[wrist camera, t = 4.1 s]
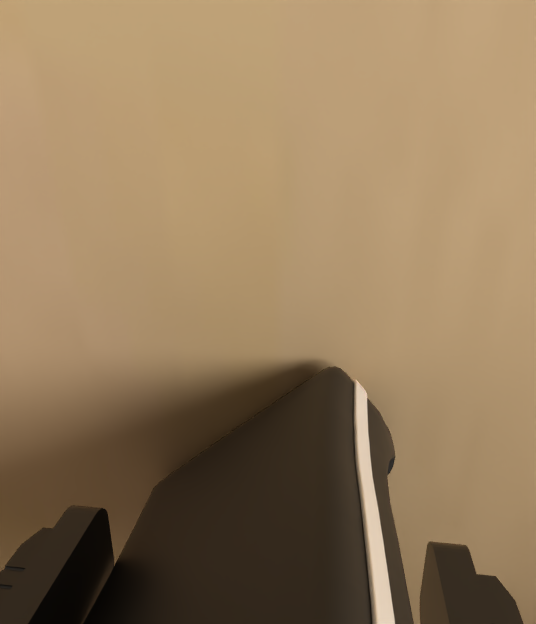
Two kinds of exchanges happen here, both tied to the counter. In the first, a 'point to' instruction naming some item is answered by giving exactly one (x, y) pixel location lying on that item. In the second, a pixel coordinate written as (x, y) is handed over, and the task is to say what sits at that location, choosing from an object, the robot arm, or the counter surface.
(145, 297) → the counter surface
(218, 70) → the counter surface
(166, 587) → the battery charger
